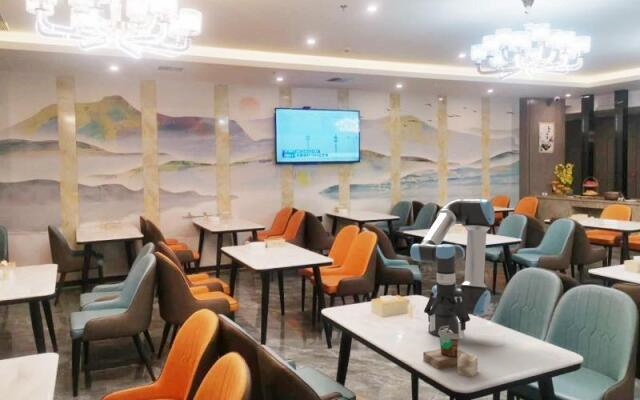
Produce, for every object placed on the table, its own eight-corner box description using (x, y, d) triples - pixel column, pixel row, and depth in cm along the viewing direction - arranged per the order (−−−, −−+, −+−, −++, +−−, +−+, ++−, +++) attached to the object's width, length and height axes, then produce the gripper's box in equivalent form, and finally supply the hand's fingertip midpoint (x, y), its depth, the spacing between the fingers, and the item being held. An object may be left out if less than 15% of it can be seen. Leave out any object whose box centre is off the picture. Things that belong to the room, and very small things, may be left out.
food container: (434, 348, 220) (434, 325, 220) (448, 348, 221) (448, 325, 220) (443, 359, 208) (443, 334, 207) (458, 358, 208) (458, 334, 208)
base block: (423, 361, 217) (423, 352, 217) (453, 356, 222) (453, 346, 222) (438, 371, 207) (438, 361, 206) (470, 365, 212) (470, 355, 212)
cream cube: (457, 374, 202) (457, 358, 202) (462, 368, 207) (462, 353, 207) (473, 377, 199) (473, 361, 199) (477, 371, 204) (477, 356, 204)
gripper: (415, 280, 219) (416, 329, 221) (468, 289, 201) (469, 343, 203) (425, 276, 224) (426, 325, 226) (478, 285, 206) (479, 338, 208)
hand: (446, 334), depth 214 cm, fingers open, 13 cm apart
